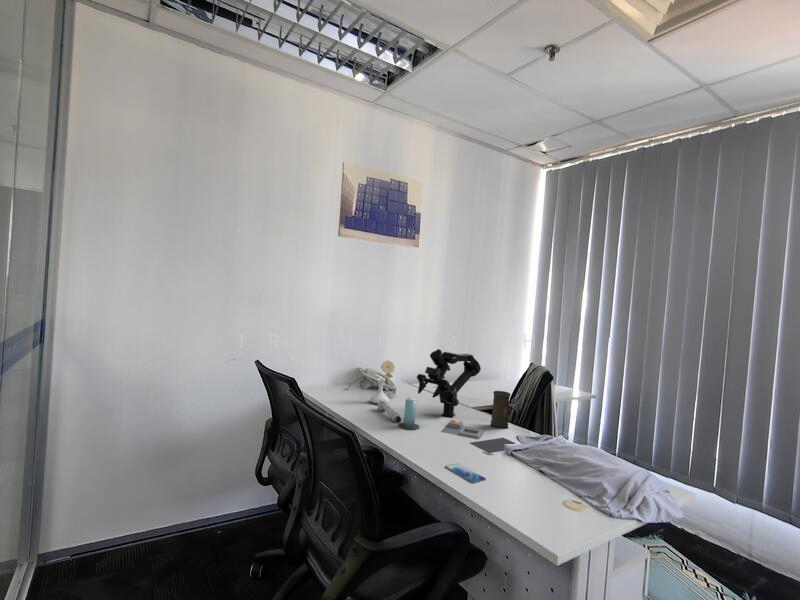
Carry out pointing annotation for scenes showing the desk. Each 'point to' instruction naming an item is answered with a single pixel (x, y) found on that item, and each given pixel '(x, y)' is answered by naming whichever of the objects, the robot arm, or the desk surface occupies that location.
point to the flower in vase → (387, 368)
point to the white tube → (389, 411)
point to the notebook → (492, 445)
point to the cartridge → (410, 412)
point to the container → (500, 410)
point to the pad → (408, 427)
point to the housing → (463, 430)
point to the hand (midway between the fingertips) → (425, 395)
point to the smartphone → (465, 473)
